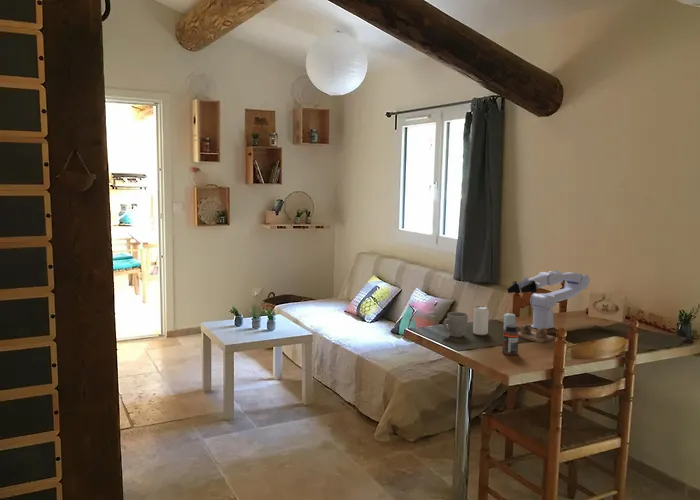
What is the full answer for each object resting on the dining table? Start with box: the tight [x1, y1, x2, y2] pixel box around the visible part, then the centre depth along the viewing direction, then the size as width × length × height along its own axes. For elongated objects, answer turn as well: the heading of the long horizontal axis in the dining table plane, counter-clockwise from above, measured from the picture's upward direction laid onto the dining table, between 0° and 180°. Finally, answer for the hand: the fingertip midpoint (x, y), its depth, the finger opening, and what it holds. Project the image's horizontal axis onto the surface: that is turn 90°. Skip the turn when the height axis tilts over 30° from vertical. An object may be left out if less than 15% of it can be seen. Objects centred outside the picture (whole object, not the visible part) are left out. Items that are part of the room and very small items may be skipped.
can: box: [472, 305, 490, 336], centre depth 269 cm, size 6×6×12 cm
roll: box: [503, 313, 516, 331], centre depth 278 cm, size 5×5×7 cm
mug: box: [442, 311, 469, 338], centre depth 264 cm, size 12×9×10 cm
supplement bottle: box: [502, 324, 520, 356], centre depth 239 cm, size 6×6×11 cm
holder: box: [518, 323, 555, 344], centre depth 265 cm, size 10×14×5 cm
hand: (514, 290), depth 270 cm, fingers open, 7 cm apart
